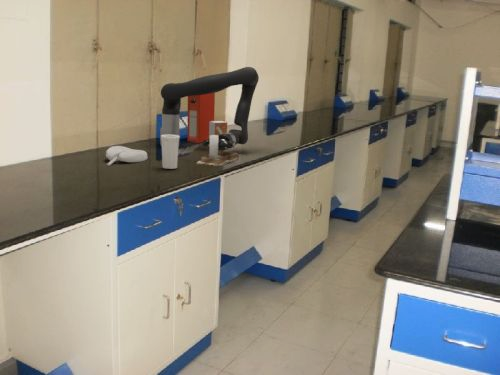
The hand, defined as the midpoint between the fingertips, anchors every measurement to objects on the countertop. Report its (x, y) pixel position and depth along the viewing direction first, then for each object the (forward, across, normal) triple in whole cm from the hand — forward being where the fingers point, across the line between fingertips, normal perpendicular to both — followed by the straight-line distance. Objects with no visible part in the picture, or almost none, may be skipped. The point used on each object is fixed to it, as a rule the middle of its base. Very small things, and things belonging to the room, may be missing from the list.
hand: (212, 145), depth 253 cm
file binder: (-57, -32, +9) cm, 66 cm away
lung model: (+17, -37, +9) cm, 42 cm away
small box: (-49, -18, +9) cm, 53 cm away
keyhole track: (-6, 0, +8) cm, 11 cm away
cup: (+20, -12, +9) cm, 24 cm away
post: (-1, 0, +7) cm, 7 cm away
